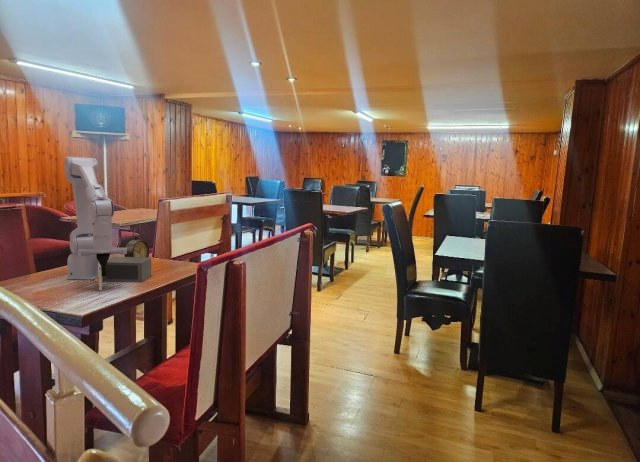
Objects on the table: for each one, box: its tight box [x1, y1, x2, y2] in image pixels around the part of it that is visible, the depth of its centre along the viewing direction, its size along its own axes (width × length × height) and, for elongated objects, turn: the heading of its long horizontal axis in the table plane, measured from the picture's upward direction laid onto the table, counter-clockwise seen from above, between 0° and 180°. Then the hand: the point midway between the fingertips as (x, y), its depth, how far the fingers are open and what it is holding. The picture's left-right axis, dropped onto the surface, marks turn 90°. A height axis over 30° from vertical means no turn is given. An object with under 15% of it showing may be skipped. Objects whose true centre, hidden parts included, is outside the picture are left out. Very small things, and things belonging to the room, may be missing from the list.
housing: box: [103, 256, 152, 283], centre depth 157 cm, size 14×10×7 cm
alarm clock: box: [123, 229, 150, 258], centre depth 172 cm, size 11×5×16 cm, turn 168°
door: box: [94, 262, 104, 291], centre depth 145 cm, size 14×2×7 cm, turn 26°
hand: (103, 275), depth 143 cm, fingers closed, pressing on door
